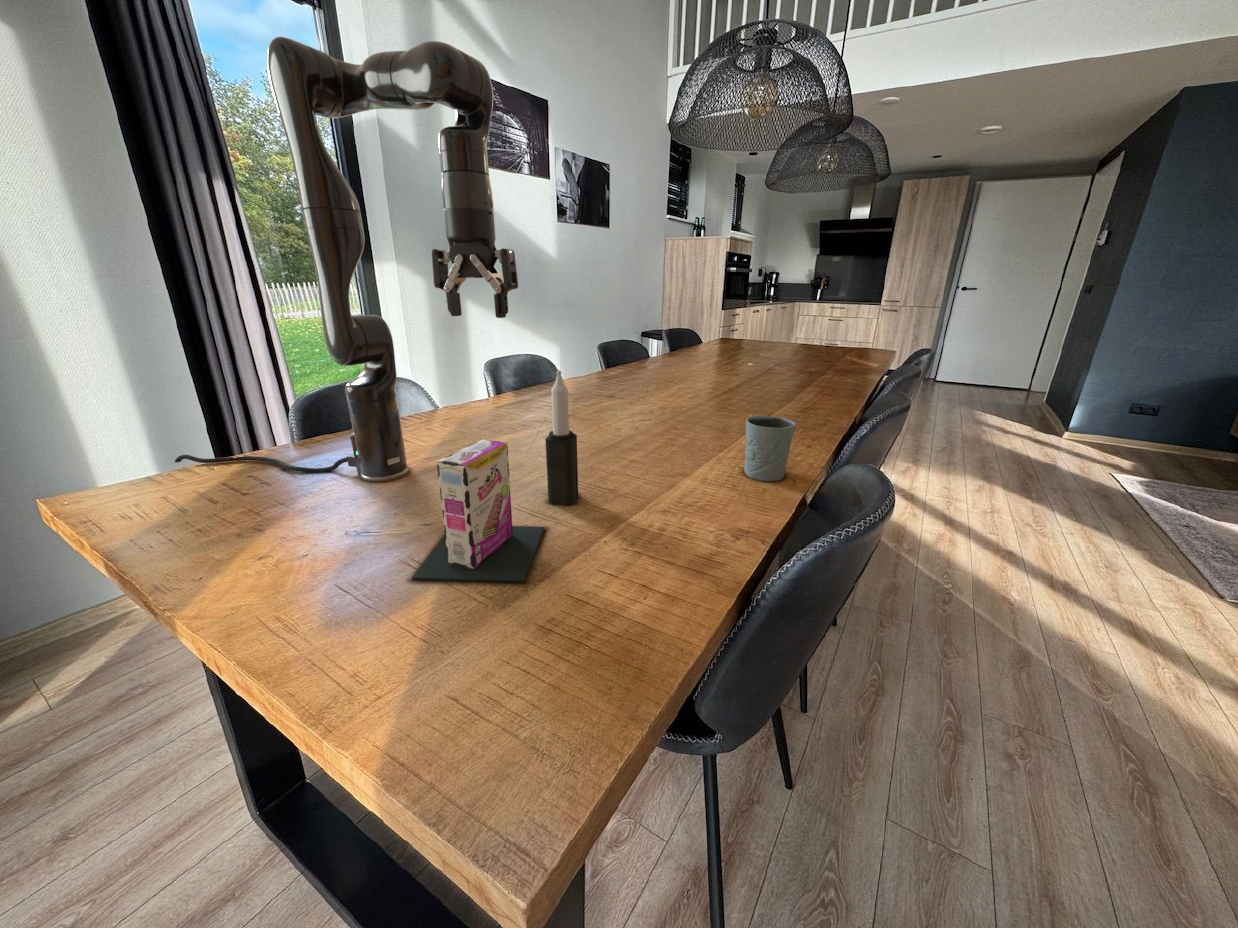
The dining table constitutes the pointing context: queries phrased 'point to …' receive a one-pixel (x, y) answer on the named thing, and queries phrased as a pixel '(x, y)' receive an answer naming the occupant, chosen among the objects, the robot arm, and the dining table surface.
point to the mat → (486, 561)
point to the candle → (561, 450)
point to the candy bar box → (475, 502)
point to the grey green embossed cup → (767, 447)
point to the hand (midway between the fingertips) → (478, 316)
